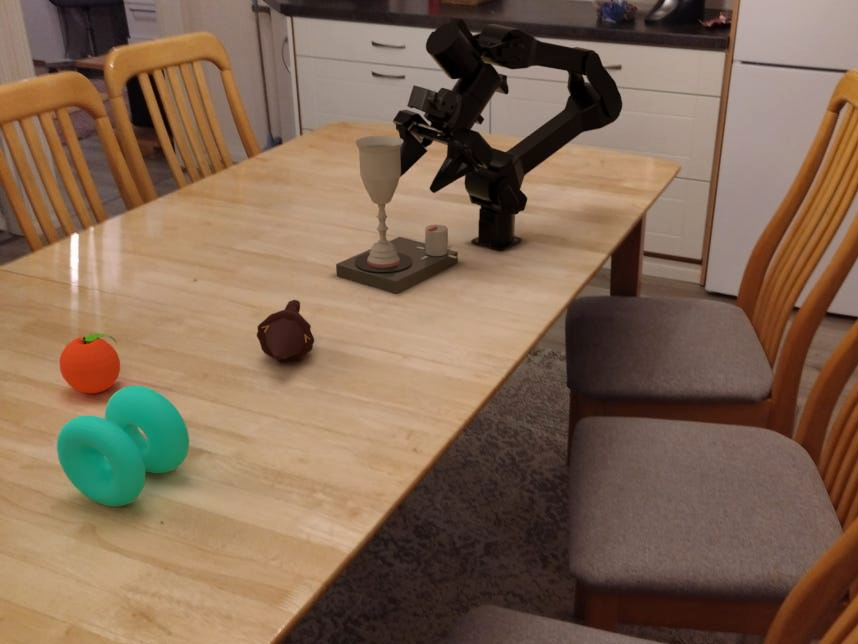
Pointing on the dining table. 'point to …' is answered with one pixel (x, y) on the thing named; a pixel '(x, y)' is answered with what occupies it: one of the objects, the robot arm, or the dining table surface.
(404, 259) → the burner
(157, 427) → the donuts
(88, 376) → the clementine
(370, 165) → the chalice
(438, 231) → the hob knob
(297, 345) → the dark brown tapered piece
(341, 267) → the hob
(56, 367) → the dining table surface
